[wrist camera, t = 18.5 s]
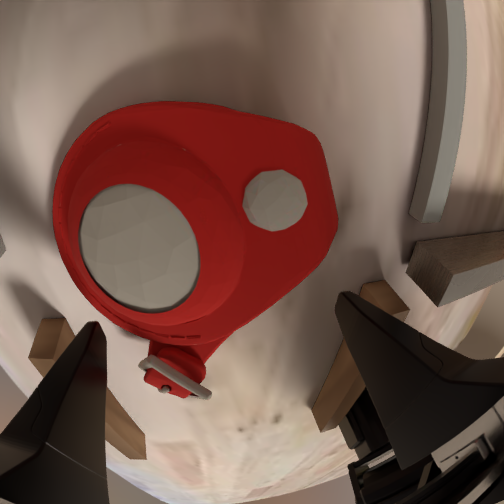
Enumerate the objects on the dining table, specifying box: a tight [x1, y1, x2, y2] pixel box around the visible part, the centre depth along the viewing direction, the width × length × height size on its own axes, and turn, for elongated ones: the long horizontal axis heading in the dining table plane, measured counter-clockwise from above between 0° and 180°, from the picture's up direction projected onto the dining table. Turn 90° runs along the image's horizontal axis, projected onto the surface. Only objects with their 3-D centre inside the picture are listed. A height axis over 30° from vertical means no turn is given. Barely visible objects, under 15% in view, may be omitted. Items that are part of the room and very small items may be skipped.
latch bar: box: [406, 231, 504, 307], centre depth 14 cm, size 18×2×3 cm, turn 88°
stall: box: [28, 280, 410, 460], centre depth 15 cm, size 18×15×2 cm
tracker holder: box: [52, 101, 338, 400], centre depth 9 cm, size 12×4×10 cm
